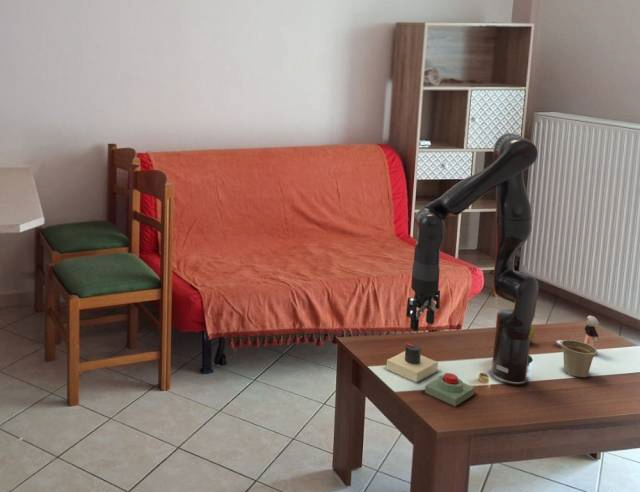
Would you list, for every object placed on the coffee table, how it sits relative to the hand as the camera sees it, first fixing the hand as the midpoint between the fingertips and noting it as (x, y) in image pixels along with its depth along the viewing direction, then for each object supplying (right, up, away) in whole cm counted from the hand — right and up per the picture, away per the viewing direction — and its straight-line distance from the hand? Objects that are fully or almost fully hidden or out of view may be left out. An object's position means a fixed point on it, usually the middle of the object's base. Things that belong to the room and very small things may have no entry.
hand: (422, 326), depth 208 cm
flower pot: (+50, -16, +4) cm, 52 cm away
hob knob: (-2, -12, +3) cm, 12 cm away
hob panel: (-2, -15, +4) cm, 15 cm away
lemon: (+45, -13, +25) cm, 53 cm away
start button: (+4, -13, -10) cm, 17 cm away
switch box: (+4, -16, -10) cm, 19 cm away
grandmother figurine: (+63, -15, +18) cm, 67 cm away
